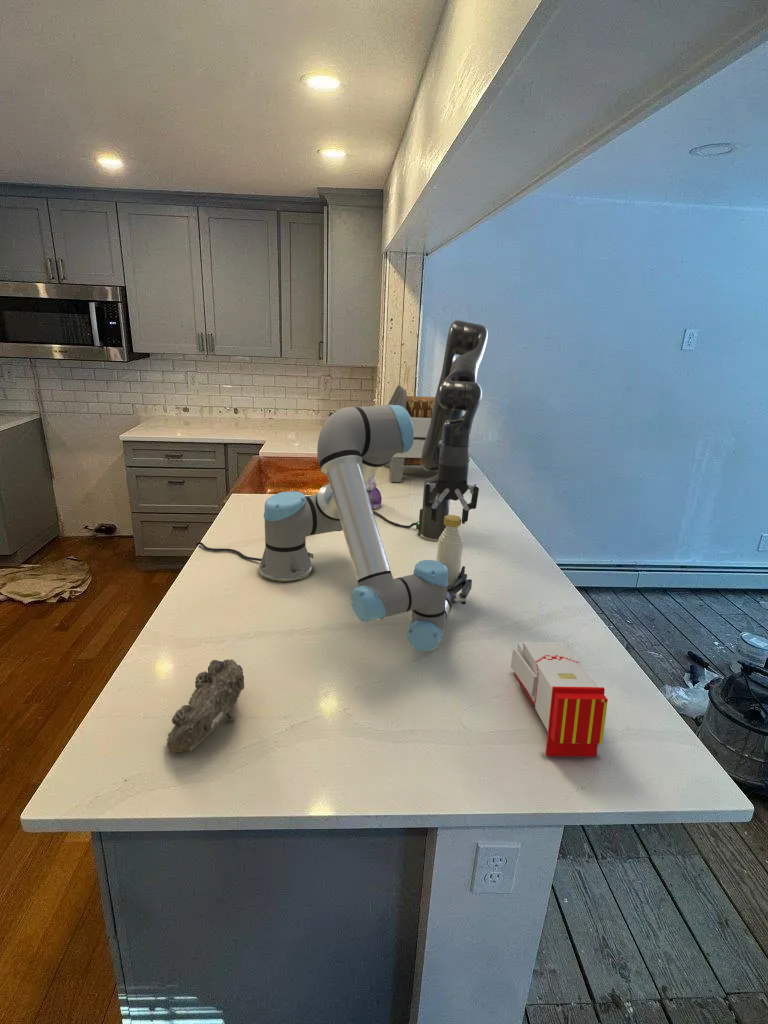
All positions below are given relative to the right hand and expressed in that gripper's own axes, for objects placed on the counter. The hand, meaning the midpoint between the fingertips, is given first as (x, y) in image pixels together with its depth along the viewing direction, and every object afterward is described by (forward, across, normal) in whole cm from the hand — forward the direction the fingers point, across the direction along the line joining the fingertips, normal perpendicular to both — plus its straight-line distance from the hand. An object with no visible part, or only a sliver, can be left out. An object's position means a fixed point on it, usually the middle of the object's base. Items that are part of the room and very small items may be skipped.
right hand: (448, 522), depth 149 cm
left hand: (+16, -2, -5) cm, 17 cm away
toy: (+23, -19, +44) cm, 53 cm away
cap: (-1, -1, 0) cm, 1 cm away
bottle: (+22, -1, 0) cm, 22 cm away
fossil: (+23, +46, +53) cm, 74 cm away
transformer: (+22, +5, -126) cm, 128 cm away
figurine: (+22, +25, -72) cm, 80 cm away
